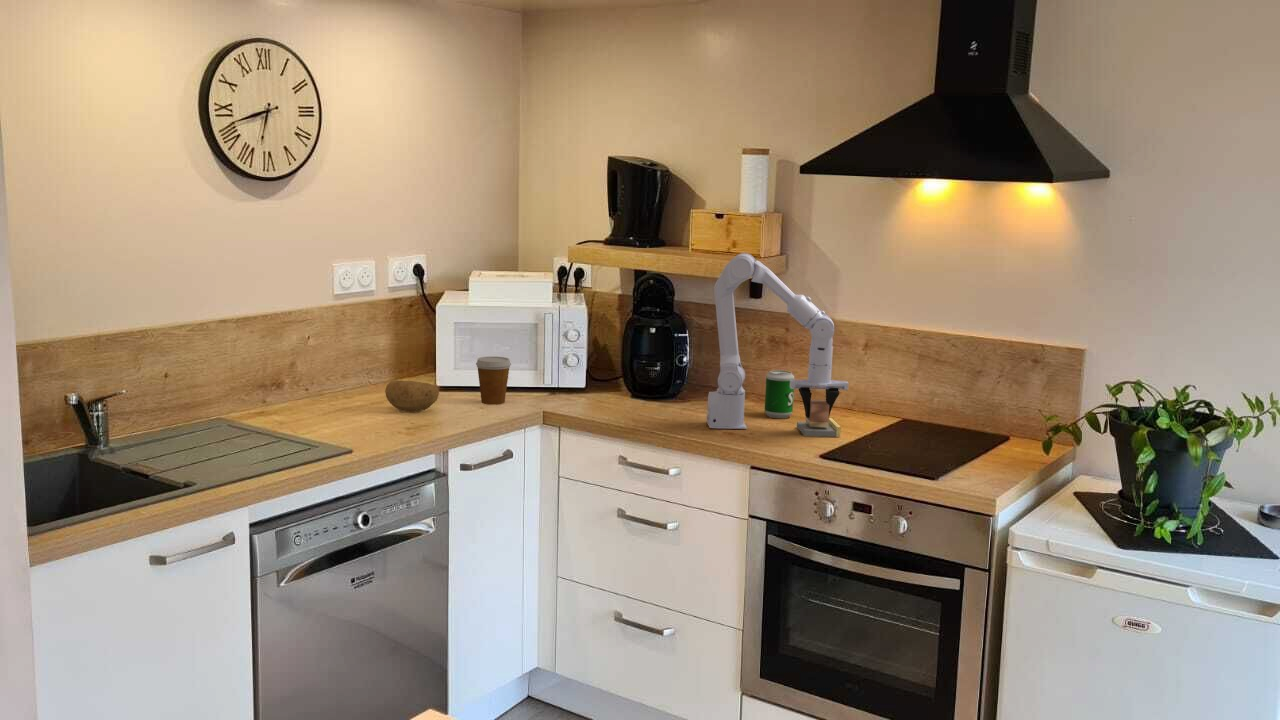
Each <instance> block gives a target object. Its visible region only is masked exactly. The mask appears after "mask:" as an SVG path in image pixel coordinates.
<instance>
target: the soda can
mask: <svg viewBox="0 0 1280 720" xmlns="http://www.w3.org/2000/svg"><path fill="white" fill-rule="evenodd" d="M790 380H795V375H793V373H792V371H789V370H783V369H782V370H781V369H780V370H778V369H776V370H775V369H773V370H770V371H769V372H768V373H767V374H766V376H765V395H764V413H765V414H766V416H767V417H768V416H769V418H771V419H788V418H790V416H791V415H793V409H794V407H793V406H794V392H795V391H794V390H795V389H791V388H790Z"/></svg>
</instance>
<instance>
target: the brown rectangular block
mask: <svg viewBox="0 0 1280 720" xmlns="http://www.w3.org/2000/svg"><path fill="white" fill-rule="evenodd" d="M829 418H830V416H829V404H828V403H827V402H826V400H823V399H822V400H818V399H816V400H815V399H814V400H813V399H811V402H810V415H809V418H807V417H806V416H805V422H807V424H808V425H809V426H810V427H829V423H828V420H829Z"/></svg>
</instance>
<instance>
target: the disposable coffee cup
mask: <svg viewBox="0 0 1280 720" xmlns="http://www.w3.org/2000/svg"><path fill="white" fill-rule="evenodd" d="M475 365H476V368H477V375H478V382H479V391H480V393H479V394H480V398H481V399H480V400H481V401H480V402H481V403H482V404H483V405H490V404H496V405H502V403H503V404H504V403H506V402H505V401H506V395H507V389H508V388H507V386H508V379H509V375H510V374H509V373H510V368H511V366H512V363H511V360H510V358H508V357H504V356H482V357H477V361H476V363H475Z"/></svg>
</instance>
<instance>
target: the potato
mask: <svg viewBox="0 0 1280 720" xmlns="http://www.w3.org/2000/svg"><path fill="white" fill-rule="evenodd" d="M384 393H385V397H386V399H387V401H388V402H389V404H390V405H391V406H393V407H394V408H395V409H397V410H400V411H403V412H407V413H412V412H417V411H425V410H427V409H429V408H431V406H432V405H433V404H435V403H436V401H438V398H439V395H440V392H439V388H438V387H437V386H436V385H434V384H431V383H429V382H428V383H427V382H421V381H415V380H414V381H413V380H392V381H389V383H387V384H386V387H385V391H384Z"/></svg>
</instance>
